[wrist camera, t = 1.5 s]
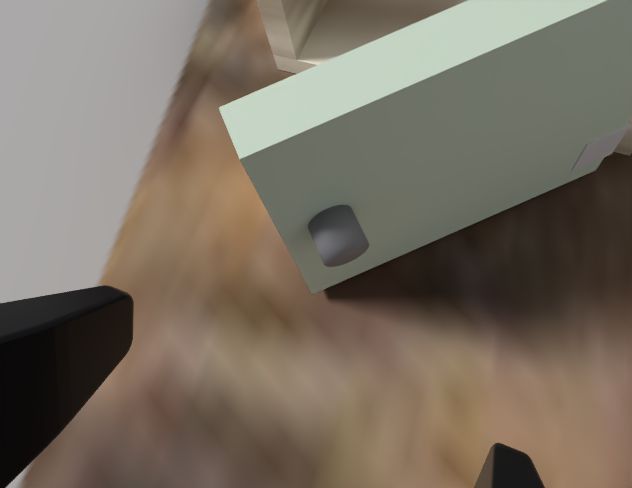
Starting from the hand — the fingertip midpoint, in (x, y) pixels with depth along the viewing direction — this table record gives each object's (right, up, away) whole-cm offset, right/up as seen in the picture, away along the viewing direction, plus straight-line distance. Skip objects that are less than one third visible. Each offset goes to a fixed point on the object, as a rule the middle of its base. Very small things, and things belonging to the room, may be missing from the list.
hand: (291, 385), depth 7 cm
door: (+6, +3, +13) cm, 15 cm away
